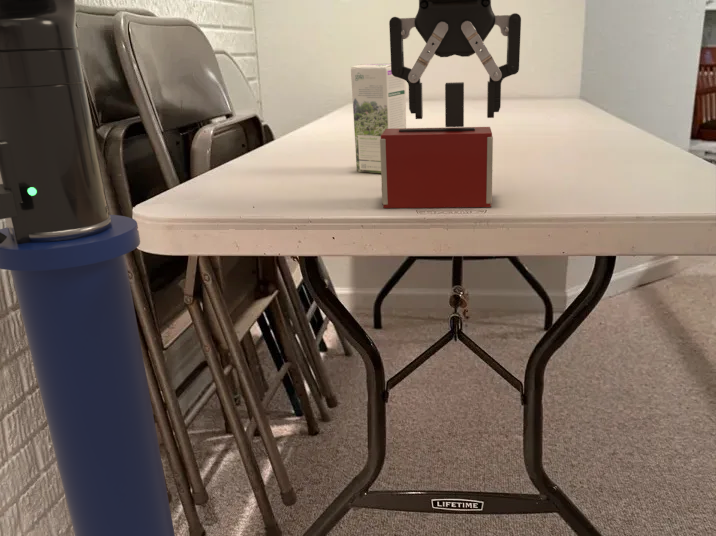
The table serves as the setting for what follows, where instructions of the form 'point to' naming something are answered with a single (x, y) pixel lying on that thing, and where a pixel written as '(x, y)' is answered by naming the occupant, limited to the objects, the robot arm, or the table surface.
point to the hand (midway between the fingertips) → (454, 117)
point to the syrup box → (375, 111)
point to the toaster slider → (454, 104)
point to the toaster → (436, 167)
